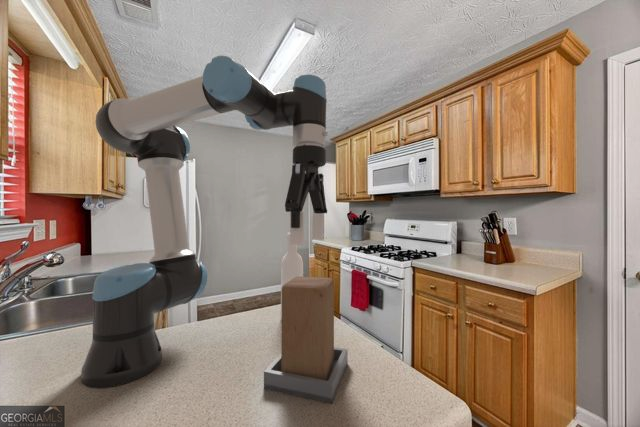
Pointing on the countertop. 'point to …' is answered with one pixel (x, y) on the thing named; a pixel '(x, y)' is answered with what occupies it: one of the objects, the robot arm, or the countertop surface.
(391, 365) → the countertop surface
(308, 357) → the wooden block
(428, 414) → the countertop surface
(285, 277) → the bottle
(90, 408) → the countertop surface
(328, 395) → the tray
